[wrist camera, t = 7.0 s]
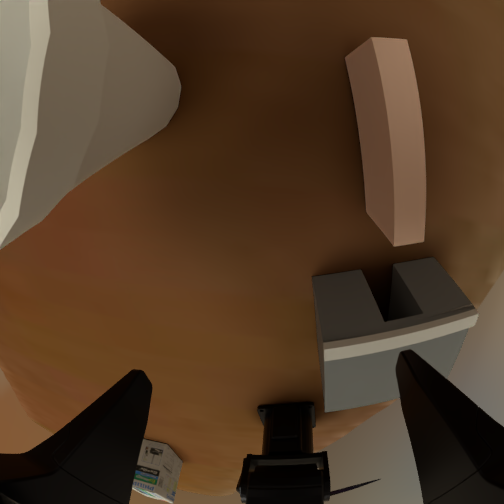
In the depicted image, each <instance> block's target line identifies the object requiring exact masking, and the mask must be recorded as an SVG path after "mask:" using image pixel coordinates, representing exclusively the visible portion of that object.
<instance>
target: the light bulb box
mask: <svg viewBox="0 0 504 504" xmlns="http://www.w3.org/2000/svg"><path fill="white" fill-rule="evenodd" d="M182 463H183V461H181V459H180V458H179V457H178V456H177V455H176V454H175V453H174V451H173V450H172V449H171V448H170V447H169V446H168V444H163V443H159V442H154V441H150V440H146V439H143V442H142V446H141V450H140V454H139V459H138V463H137V468H136V472H135V477H134V481H133V486H132V489H134V490H136V491H137V492H139V493H141V494H143V495H145V496H148V497H151V498H155V499H158V500H162V501H166V502H169V503H174V498H175V493H176V489H177V484H178V480H179V475H180V471H181V467H182Z"/></svg>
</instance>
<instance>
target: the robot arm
mask: <svg viewBox="0 0 504 504" xmlns="http://www.w3.org/2000/svg"><path fill="white" fill-rule="evenodd" d="M395 372H396V378H397V383H398V388H399V394H400V399H401V406H402V411H403V415H404V418H405V422H406V426H407V429H408V433H409V437H410V441H411V445H412V449H413V453H414V457H415V461H416V466H417V471H418V476H419V481H420V485H421V491H422V497H423V503H424V504H504V427H503V426H502V425H500V424H499V423H498V422H496V421H495V420H494V419H493V418H491V417H490V416H489V415H488V414H487V413H485V412H484V411H483V410H482V409H481V408H480V407H478V406H477V405H476V404H475V403H474V402H473V401H472V400H470V399H469V398H468V397H467V396H466V395H465V394H464V393H462V392H461V391H460V390H459V389H458V388H456V386H454V385H453V384H452V383H451V382H450V381H449V380H447V379H446V378H445V377H444V376H443V375H442V374H440V373H439V372H438V371H437V370H436V369H435V368H433V367H432V366H431V365H430V364H429V363H427V362H426V361H425V360H424V359H423V358H421V357H420V356H419V355H418V354H417V353H415V352H414V351H413V350H411V349H408V350H404V351H401V352H400V353H399V355H398V359H397V363H396V367H395ZM151 394H152V384H151V382H150V380H149V379H148V377H147V376H146V374H145V373H144V371H142V370H136V369H134V370H131V371H130V372H129V373H128V374H127V375H125V376H124V377H123V378H122V379H121V380H119V381H118V382H117V383H116V384H115V385H113V386H112V387H111V388H110V389H109V390H108V391H106V392H105V393H104V394H103V395H102V396H100V397H99V398H98V399H97V400H96V401H94V402H93V403H92V404H91V405H90V406H88V407H87V408H86V409H85V410H84V411H82V412H81V413H80V414H79V415H78V416H76V417H75V418H74V419H73V420H72V421H71V422H69V423H68V424H67V425H65V426H64V427H63V428H62V429H60V430H59V431H58V432H57V433H55V434H54V435H52V436H51V437H50V438H48V439H47V440H45V441H44V442H42V443H41V444H39V445H37V446H36V447H34V448H33V449H32V450H30V451H28V452H25V453H21V454H1V453H0V504H129V501H130V496H131V491H132V486H133V481H134V477H135V472H136V468H137V463H138V459H139V454H140V450H141V446H142V442H143V438H144V434H145V430H146V426H147V421H148V415H149V408H150V401H151ZM257 411H258V414H259V416H260V419H261V421H262V423H263V426H264V434H263V447H262V455H252V454H247V458H244V460H243V468H242V473H241V476H240V478H239V481H238V484H237V487H236V490H237V491H238V492H239V493H240V496H241V501H242V503H246V504H324V501H329V499H330V475H329V465H328V457H327V451H322V452H320V453H313V433H312V428H314V427H315V426H316V425H315V409H314V403H313V402H307V403H297V404H286V405H271V406H259V407H258V409H257ZM317 468H319V470H318V469H317Z"/></svg>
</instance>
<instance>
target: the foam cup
mask: <svg viewBox="0 0 504 504" xmlns="http://www.w3.org/2000/svg"><path fill="white" fill-rule="evenodd" d="M180 92H181V83H180V80H179V77H178V74H177V71H176V67H174V66H173V64H172V63H171V62H169V61H168V60H167V59H166V58H165V57H164V56H163V55H162V54H161V53H159V52H158V51H157V50H156V49H155V48H154V47H153V46H152V45H150V44H149V43H148V42H147V41H146V40H145V39H143V38H142V37H141V36H140V35H139V34H138V33H136V32H135V31H134V30H133V29H132V28H130V27H129V26H128V25H127V24H125V23H124V22H123V21H122V20H121V19H119V18H118V17H117V16H115V15H114V14H113V13H112V12H110V11H109V10H108V9H106V8H105V7H104V6H103V5H101V3H100V0H0V250H1V249H2V248H3V247H5V246H6V245H7V244H9V243H10V242H12V241H13V240H14V239H16V238H17V237H19V236H20V235H21V234H23V233H24V232H26V231H27V230H29V229H30V228H32V227H33V226H35V225H36V224H38V223H39V222H41V221H42V220H43V219H44V218H45V217H46V216H47V215H48V214H49V212H50V211H51V210H52V209H53V208H54V207H55V206H56V205H57V203H58V202H59V201H60V200H61V199H62V198H63V197H64V196H65V195H66V194H67V193H68V192H70V191H71V190H72V189H73V188H75V187H76V186H77V185H79V184H80V183H82V182H83V181H84V180H86V179H87V178H88V177H90V176H91V175H93V174H94V173H96V172H97V171H98V170H100V169H101V168H103V167H104V166H106V165H107V164H109V163H110V162H112V161H113V160H115V159H116V158H118V157H120V156H121V155H123V154H124V153H126V152H128V151H129V150H131V149H133V148H134V147H136V146H137V145H139V144H141V143H143V142H144V141H146V140H147V139H149V138H151V137H152V136H153V135H155V134H156V133H157V132H159V131H160V130H162V129H163V128H165V127H166V126H167V125H168V123H169V121H170V120H171V118H172V116H173V115H174V113H175V112H176V110H177V108H178V105H179V98H180Z"/></svg>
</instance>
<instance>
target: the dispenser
mask: <svg viewBox="0 0 504 504" xmlns="http://www.w3.org/2000/svg"><path fill="white" fill-rule="evenodd" d="M312 283H313V293H314V304H315V315H316V328H317V341H318V353H319V362H320V370H321V379H322V388H323V398H324V408H325V412H332V411H339V410H345V409H351V408H356V407H361V406H367V405H371V404H376V403H381V402H385V401H389V400H393V399H397V398H400V394H399V388H398V383H397V378H396V372H395V367H396V363H397V359H398V355H399V353H400V352H401V351H404V350H408V349H411V350H413V351H414V352H415V353H417V354H418V355H419V356H420V357H421V358H423V359H424V360H425V361H426V362H427V363H429V364H430V365H431V366H432V367H433V368H435V369H436V370H437V371H438V372H439V373H440V374H442V375H443V376H444V377H445V378H446V379H447V378H448V376H449V374H450V372H451V370H452V367H453V365H454V363H455V360H456V359H457V356H458V354H459V351H460V349H461V347H462V344H463V342H464V339H465V337H466V334H467V332H468V329H469V328H470V327H473V326H475V324H476V321H477V318H478V315H479V313H478V311H477V310H476V309H475V307H474V306H473V305H472V303H471V302H470V301H469V299H468V298H467V297H466V295H465V294H464V293H463V292H462V290H461V289H460V288H459V287H458V285H457V284H456V283H455V282H454V280H453V279H452V278H451V277H450V276H449V274H448V273H447V272H446V271H445V270H444V268H443V267H442V266H441V265H440V264H439V263H438V261H437V260H436V259H435V258H434V257H430V258H425V259H419V260H414V261H408V262H402V263H396V264H393V271H392V284H391V295H390V304H389V312H388V320H387V322H384V320H383V318H382V315H381V313H380V311H379V308H378V306H377V304H376V301H375V299H374V297H373V295H372V292H371V290H370V288H369V286H368V283H367V281H366V279H365V277H364V275H363V273H362V271H361V269H360V270H354V271H348V272H341V273H334V274H328V275H321V276H314V277H312Z"/></svg>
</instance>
